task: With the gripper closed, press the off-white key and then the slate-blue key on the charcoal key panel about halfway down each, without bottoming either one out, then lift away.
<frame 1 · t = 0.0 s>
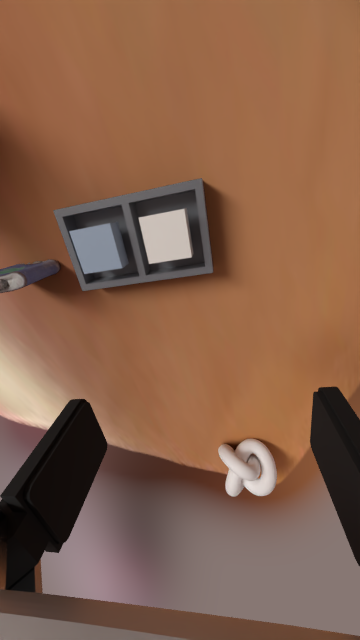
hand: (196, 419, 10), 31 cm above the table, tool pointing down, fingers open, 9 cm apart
key panel: (141, 238, 38), on the table
blue key: (100, 248, 35), point 5 cm above the table, slide at 0.0 cm
pretzel: (241, 449, 56), on the table
white key: (167, 236, 33), point 4 cm above the table, slide at 0.0 cm
dark blue boxy piece: (38, 268, 43), on the table
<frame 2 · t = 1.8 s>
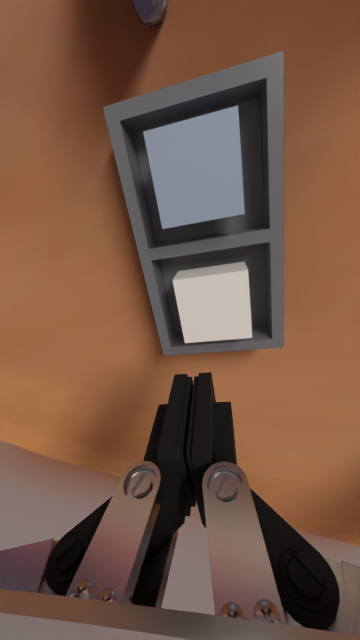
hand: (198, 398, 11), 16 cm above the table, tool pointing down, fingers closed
key panel: (208, 239, 23), on the table
blue key: (197, 176, 17), point 4 cm above the table, slide at 0.0 cm
white key: (213, 303, 22), point 4 cm above the table, slide at 0.0 cm
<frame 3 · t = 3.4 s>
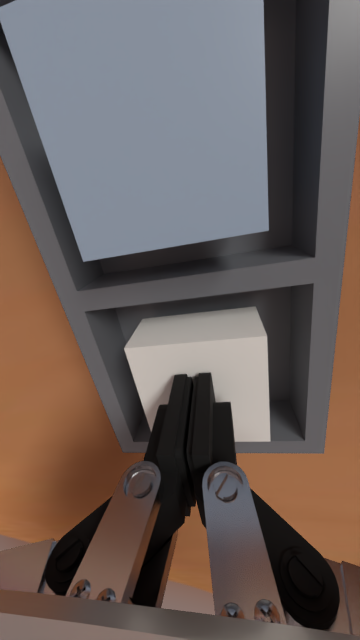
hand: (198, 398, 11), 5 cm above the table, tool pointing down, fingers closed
key panel: (193, 265, 14), on the table
blue key: (158, 143, 8), point 5 cm above the table, slide at 0.0 cm
white key: (202, 376, 12), point 4 cm above the table, slide at 0.8 cm, touching gripper
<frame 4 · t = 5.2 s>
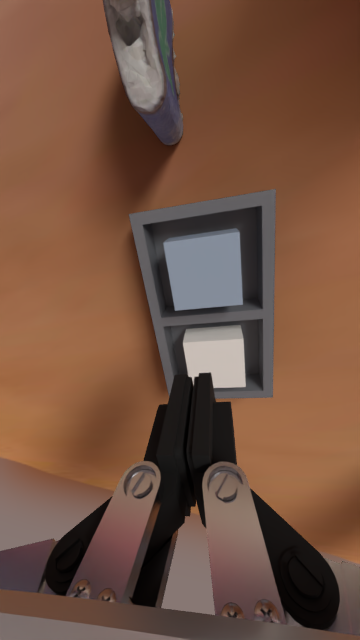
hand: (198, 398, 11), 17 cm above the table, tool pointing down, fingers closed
key panel: (211, 303, 27), on the table
blue key: (205, 270, 21), point 5 cm above the table, slide at 0.0 cm
white key: (215, 357, 26), point 4 cm above the table, slide at 1.0 cm
dark blue boxy piece: (163, 79, 20), on the table
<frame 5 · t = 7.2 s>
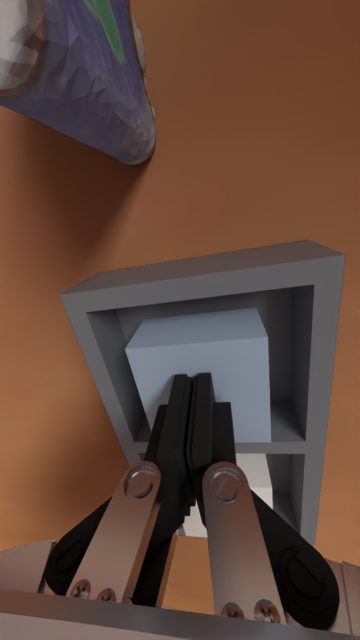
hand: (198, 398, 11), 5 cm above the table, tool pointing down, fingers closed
key panel: (215, 398, 18), on the table
blue key: (203, 377, 12), point 4 cm above the table, slide at 0.8 cm, touching gripper
white key: (223, 489, 17), point 4 cm above the table, slide at 1.0 cm
dark blue boxy piece: (113, 41, 10), on the table
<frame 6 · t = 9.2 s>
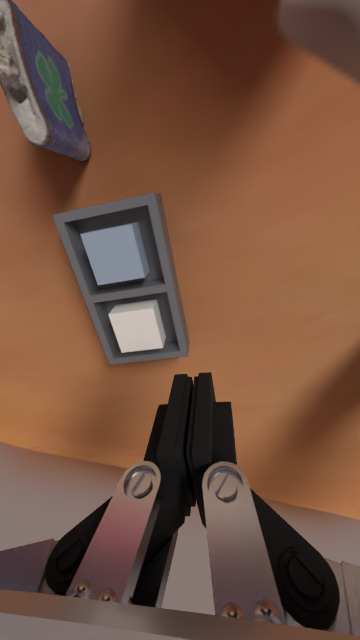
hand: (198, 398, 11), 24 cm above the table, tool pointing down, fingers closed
key panel: (135, 284, 34), on the table
blue key: (117, 254, 29), point 4 cm above the table, slide at 0.9 cm
white key: (138, 326, 33), point 4 cm above the table, slide at 1.0 cm
dark blue boxy piece: (70, 112, 26), on the table
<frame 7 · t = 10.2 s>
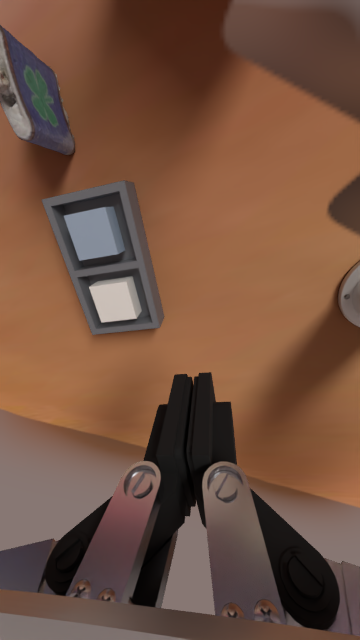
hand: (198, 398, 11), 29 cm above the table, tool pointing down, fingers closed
key panel: (115, 263, 39), on the table
blue key: (96, 234, 34), point 4 cm above the table, slide at 0.9 cm
white key: (116, 299, 38), point 4 cm above the table, slide at 1.0 cm
dark blue boxy piece: (58, 114, 31), on the table
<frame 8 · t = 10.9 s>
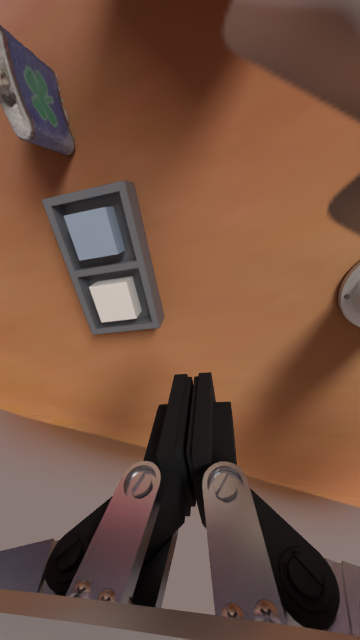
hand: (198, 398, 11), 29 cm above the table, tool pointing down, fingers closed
key panel: (115, 263, 39), on the table
blue key: (96, 234, 34), point 4 cm above the table, slide at 0.9 cm
white key: (116, 299, 38), point 4 cm above the table, slide at 1.0 cm
dark blue boxy piece: (58, 114, 31), on the table
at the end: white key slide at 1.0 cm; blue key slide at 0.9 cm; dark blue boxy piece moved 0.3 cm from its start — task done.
